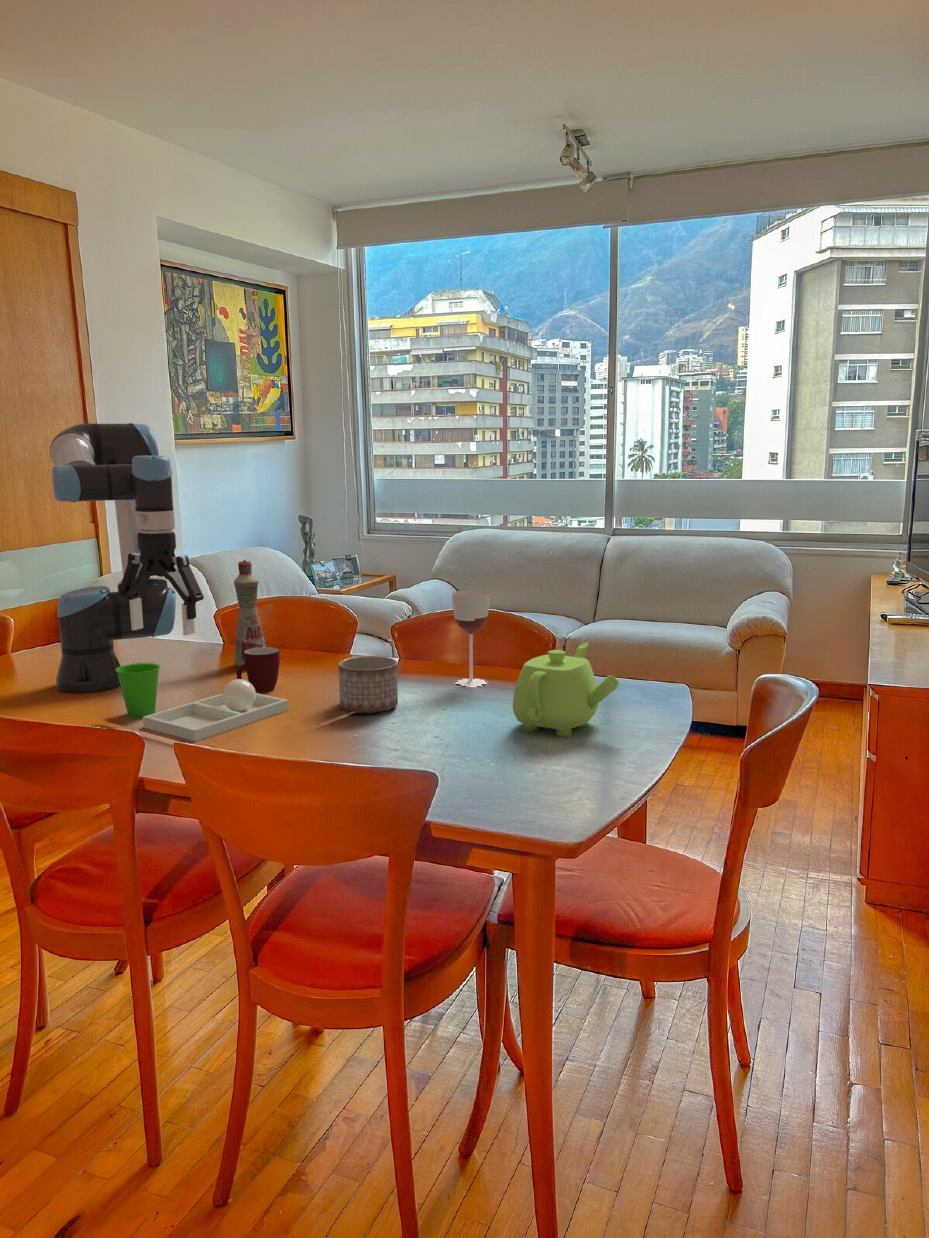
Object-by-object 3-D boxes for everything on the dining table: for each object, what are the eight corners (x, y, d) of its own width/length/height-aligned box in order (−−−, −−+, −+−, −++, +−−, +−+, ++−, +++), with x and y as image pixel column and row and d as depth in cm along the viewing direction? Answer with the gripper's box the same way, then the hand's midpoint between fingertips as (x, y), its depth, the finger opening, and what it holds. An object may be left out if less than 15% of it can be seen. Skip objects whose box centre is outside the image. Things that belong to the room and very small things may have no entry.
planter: (373, 697, 206) (372, 653, 204) (409, 708, 198) (408, 662, 196) (328, 708, 198) (326, 662, 196) (364, 720, 189) (363, 672, 187)
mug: (251, 701, 203) (249, 658, 201) (230, 695, 208) (227, 653, 206) (288, 691, 211) (286, 650, 209) (266, 685, 216) (264, 645, 214)
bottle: (252, 659, 242) (247, 556, 237) (275, 664, 237) (271, 559, 232) (227, 666, 235) (221, 560, 230) (250, 671, 230) (244, 562, 225)
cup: (173, 714, 194) (169, 664, 191) (142, 726, 185) (138, 674, 183) (141, 709, 197) (137, 660, 195) (109, 721, 189) (105, 670, 187)
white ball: (216, 712, 192) (214, 680, 191) (241, 704, 198) (239, 673, 196) (238, 717, 188) (237, 685, 187) (263, 709, 194) (262, 678, 193)
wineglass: (446, 685, 215) (446, 595, 211) (461, 676, 224) (461, 589, 220) (480, 689, 212) (480, 597, 208) (494, 679, 221) (495, 591, 217)
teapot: (594, 753, 169) (597, 671, 165) (495, 734, 180) (495, 657, 177) (643, 718, 189) (646, 645, 186) (551, 703, 201) (552, 634, 197)
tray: (143, 730, 182) (142, 716, 182) (237, 701, 203) (237, 688, 202) (196, 745, 174) (195, 730, 173) (288, 713, 194) (288, 699, 193)
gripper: (95, 530, 187) (103, 630, 191) (193, 535, 178) (199, 640, 182) (121, 527, 194) (129, 623, 198) (217, 531, 185) (222, 632, 189)
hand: (163, 631), depth 190 cm, fingers open, 13 cm apart
